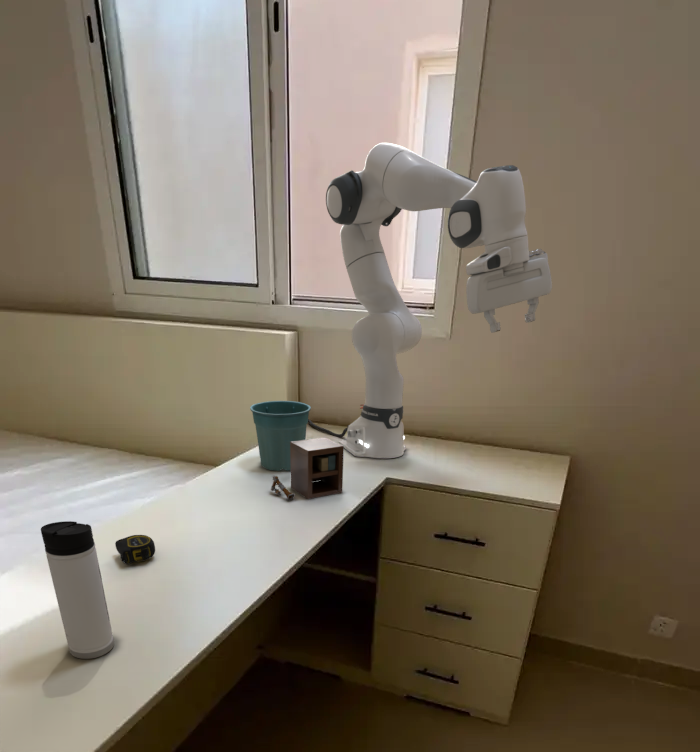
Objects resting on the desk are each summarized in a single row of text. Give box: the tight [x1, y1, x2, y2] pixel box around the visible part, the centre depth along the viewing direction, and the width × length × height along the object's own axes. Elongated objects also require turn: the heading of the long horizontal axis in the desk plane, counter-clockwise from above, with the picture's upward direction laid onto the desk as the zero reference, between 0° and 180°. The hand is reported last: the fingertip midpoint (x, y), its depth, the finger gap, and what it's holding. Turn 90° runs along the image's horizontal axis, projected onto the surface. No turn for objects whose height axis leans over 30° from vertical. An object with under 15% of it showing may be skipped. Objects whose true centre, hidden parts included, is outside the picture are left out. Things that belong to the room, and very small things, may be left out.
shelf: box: [290, 436, 345, 500], centre depth 151 cm, size 9×10×12 cm
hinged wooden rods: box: [270, 475, 296, 502], centre depth 149 cm, size 2×8×4 cm, turn 43°
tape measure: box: [114, 534, 156, 565], centre depth 116 cm, size 7×7×4 cm
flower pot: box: [249, 400, 312, 472], centre depth 167 cm, size 16×16×16 cm
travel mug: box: [40, 520, 115, 660], centre depth 85 cm, size 6×7×20 cm
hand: (513, 326), depth 134 cm, fingers open, 8 cm apart
